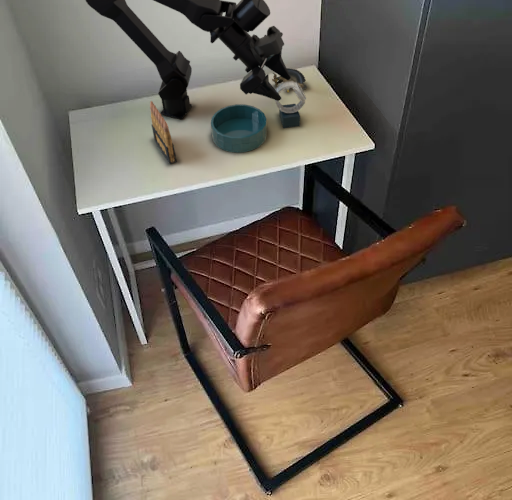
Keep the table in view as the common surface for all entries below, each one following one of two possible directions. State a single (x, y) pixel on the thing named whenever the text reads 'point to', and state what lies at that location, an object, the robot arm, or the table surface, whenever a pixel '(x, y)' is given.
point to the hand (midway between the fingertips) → (284, 89)
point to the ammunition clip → (162, 134)
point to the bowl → (239, 128)
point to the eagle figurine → (295, 77)
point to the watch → (290, 105)
